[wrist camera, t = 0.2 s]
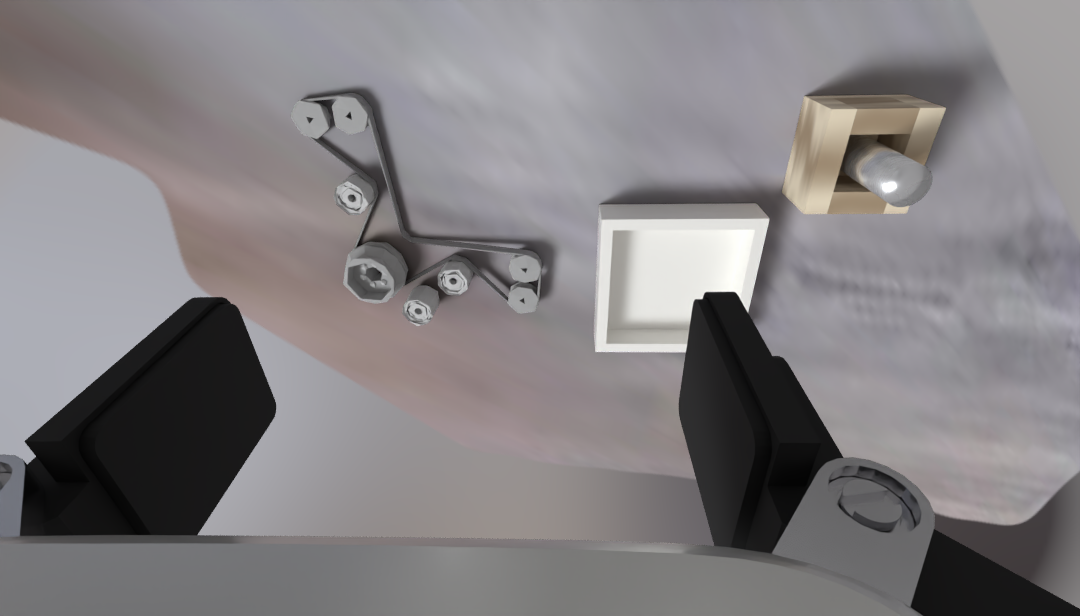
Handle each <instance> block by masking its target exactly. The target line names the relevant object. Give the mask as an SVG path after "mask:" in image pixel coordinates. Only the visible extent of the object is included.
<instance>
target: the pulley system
mask: <svg viewBox="0 0 1080 616" xmlns="http://www.w3.org/2000/svg"><path fill="white" fill-rule="evenodd" d="M328 99H337V100H336V101H335V103H334V104H333V105H332V110H333V116H334V121H335V125H336V128H338V129H340V130H342V131H343V132H345V133H347V134H349V135H351V134H355V133H359V132H363V131H365V129H366V127H367V126H370V130H371V133H372V137H373V140H374V143H375V147H376V150H377V153H378V157H379V160H380V163H381V167H382V170H383V173H384V177H385V180H386V183H387V187H388V190H389V194H390V197H391V200H392V204H393V207H394V210H395V214H396V217H397V220H398V224H399V227H400V230H401V234H402V237H403V238H405V239H406V240H408V241H410V242H412V243H420V244H428V245H437V246H445V247H453V248H461V249H470V250H478V251H486V252H495V253H503V254H511V255H512V257H511V261H510V265H509V271H510V273H511V275H512V277H513V279H514V280H517V281H519V282H518V283H516V284H514V285H513V286H511V288H510V292H509V298H508V297H507V296H506V295H505V294H504V293H503V292H502V291H501V290H500V289H498V288H497V287H496V286H495V285H494V284H493V283H492V282H491V281H490V280H489V279H488V278H487V277H486V276H485V275H484V274H483V273H482V272H480V271H479V270H478V269H477V268H476V267H475V266H474V265H473V264H472V263H471V262H470V261H469V260H468V259H467V258H465V257H461V256H458V255H452V256H450V257H449V258H447V259H445V260H443V261H441V262H439V263H438V264H436V265H434V266H432V267H430V268H428V269H427V270H425V271H423V272H421V273H420V274H418V275H416V276H415V277H413V278H411V279H409V280H408V281H406V275H407V272H408V267H407V265H406V263H405V261H404V259H403V256H402V254H401V253H400V252H398V251H397V250H396V249H395V248H393V247H392V246H391V245H390V244H389V243H387V242H370V241H369V242H367V243H365V244H363V245H361V246H359V247H357V246H358V243H359V241H360V238H361V236H362V233H363V231H364V229H365V226H366V224H367V221H368V219H369V217H370V214H371V212H372V209H373V207H374V205H375V202H376V200H377V197H378V195H379V192H378V188H377V184H376V181H375V180H373V179H372V178H371V177H369V176H368V175H367V174H365V173H364V172H363V171H361V170H360V169H359V168H357V167H356V166H355V165H353V164H352V163H351V162H349V161H348V160H347V159H345V158H344V157H343V156H341V155H340V154H339V153H337V152H336V151H335V150H333V149H332V148H331V147H329V146H328V145H327V144H325V143H324V142H323V141H321V140H320V139H319V137H320V136H322V135H323V134H324V133H326V132H327V130H328V129H329V128H330V120H331V115H330V113H329V111H328V109H327V108H326V106H324V105H323V104H321V103H319V102H317V101H316V100H328ZM291 118H292V119H293V121H294V123H295V125H296V126H297V128H298V129H299V131H300V132H301V134H302V135H305V136H307V137H309V138H310V139H311V140H313V141H314V142H315V143H317V144H318V145H319V146H321V147H322V148H323V149H325V150H326V151H327V152H329V153H330V154H331V155H333V156H334V157H335V158H337V159H338V160H340V161H341V162H342V163H344V164H345V165H346V166H348V167H349V168H350V169H352V170H353V171H354V172H356V173H357V174H355V175H351V176H349V177H348V178H347V179H346V180H345V181H343V182H342V183H341V184H340V185H339V186H338V187H337V188H336V190H335V194H334V200H335V202H336V205H337V206H339V207H340V208H341V209H342V210H344V211H345V212H346V213H347V214H349V215H360V214H361V213H362V212H364V211H365V210H366V208H367V207H368V206H369V205H370V204H371V203H372V205H371V207H370V210H369V212H368V215H367V217H366V220H365V222H364V225H363V227H362V230H361V232H360V235H359V237H358V240H357V242H356V245H355V247H354V249H353V250H352V252H350V253H349V254H348V259H347V263H346V266H345V273H344V281H343V284H344V285H345V286H346V287H347V288H348V289H349V290H350V291H351V292H352V293H353V294H354V295H355V296H356V297H357V298H358V299H359V300H361V301H366V302H370V303H375V304H376V303H382V302H388V300H389V299H390V298H391V297H394V296H395V295H396V294H397V292H398V291H399V290H400V289H401V288H402V286H404V285H406V284H408V283H410V282H411V281H413V280H415V279H417V278H419V277H420V276H422V275H424V274H426V273H428V272H430V271H431V270H433V269H435V268H437V267H439V266H440V265H442V264H444V263H445V265H444V266H443V268H442V269H441V271H440V273H439V274H438V286H439V287H440V288H441V289H442V290H443V291H444V292H445V293H446V294H447V295H458V296H459V295H461V294H462V293H464V292H465V291H466V290H467V289H468V286H469V284H470V281H471V279H472V276H473V272H474V273H475V274H476V275H477V276H478V277H480V278H481V279H482V280H483V281H484V282H485V283H486V284H487V285H488V286H489V287H491V288H492V289H493V290H494V291H495V292H496V293H497V294H498V295H499V296H501V297H502V298H503V299H504V300H505V301H506V302H507V303H508V305H509V306H510V307H512V308H513V309H514V310H515V311H516V312H517V313H519V314H521V313H528V312H535V310H536V308H537V306H538V303H539V298H540V286H541V272H542V262H541V259H540V258H539V256H538V254H537V253H535V252H532V251H529V250H522V249H514V248H505V247H496V246H487V245H479V244H470V243H461V242H452V241H444V240H435V239H426V238H417V237H411V236H410V235H409V234H408V233H407V232H406V231H405V230H404V226H403V223H402V219H401V215H400V211H399V208H398V204H397V200H396V197H395V193H394V189H393V186H392V182H391V178H390V175H389V171H388V167H387V164H386V160H385V156H384V153H383V149H382V145H381V142H380V138H379V134H378V131H377V127H376V123H375V120H374V116H373V110H372V108H371V107H370V105H369V104H368V103H367V101H366V100H365V99H364V98H363V97H362V96H361V95H359V94H357V93H345V94H338V95H330V96H323V97H315V98H308V99H303V100H300V101H298V102H297V103H296V104H295V106H294V108H293V111H292V113H291ZM312 118H314V119H312ZM377 269H378V270H379V271H380V272H381V273H379V272H378V271H377ZM538 277H539V280H538V288H537V287H535V286H533V285H532V284H529V283H526V282H531V281H535V280H537V279H538ZM405 281H406V282H405ZM438 306H439V296H438V291H436V290H435V289H433V288H431V287H429V286H417V287H416V288H414V289H413V290H412V292H411V293H410V295H409V297H408V299H407V301H406V302H405V304H404V306H403V313H402V314H403V315H404V316H405V317H406V318H407V319H408V321H410V322H411V323H413V324H415V325H416V326H420V325H424V324H427V323H429V322H430V321H431V319H432V317H433V315H434V313H435V311H436V310H437V308H438Z"/></svg>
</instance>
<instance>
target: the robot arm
mask: <svg viewBox="0 0 1080 616" xmlns="http://www.w3.org/2000/svg"><path fill="white" fill-rule="evenodd" d="M275 413H276V402H275V399H274V397H273V394H272V392H271V389H270V387H269V384H268V382H267V379H266V377H265V374H264V371H263V369H262V366H261V364H260V362H259V359H258V356H257V354H256V352H255V349H254V346H253V344H252V341H251V339H250V337H249V334H248V331H247V329H246V326H245V324H244V321H243V319H242V316H241V314H240V311H239V309H238V308H237V307H236V306H235V305H233V304H231V303H230V302H229V301H228V300H227V299H226V298H223V297H204V298H203V297H200V298H192V299H190V300H189V301H187V302H186V303H185V304H184V305H183V306H182V307H180V308H179V309H178V310H177V311H176V312H175V313H173V314H172V315H171V316H170V317H169V318H168V319H167V320H165V321H164V322H163V323H162V324H161V325H159V326H158V327H157V328H156V329H155V330H154V331H153V332H151V333H150V334H149V335H148V336H147V337H146V338H145V339H143V340H142V341H141V342H140V343H138V344H137V345H136V346H135V347H134V348H133V349H131V350H130V351H129V352H128V353H127V354H126V355H124V356H123V357H122V358H121V359H120V360H119V361H118V362H116V363H115V364H114V365H113V366H112V367H111V368H109V369H108V370H107V371H106V372H105V373H104V374H102V375H101V376H100V377H99V378H98V379H97V380H95V381H94V382H93V383H92V384H91V385H90V386H88V387H87V388H86V389H85V390H84V391H83V392H81V393H80V394H79V395H78V396H77V397H76V398H74V399H73V400H72V401H71V402H70V403H69V404H67V405H66V406H65V407H64V408H63V409H62V410H60V411H59V412H58V413H57V414H56V415H55V416H53V417H52V418H51V419H50V420H49V421H48V422H46V423H45V424H44V425H43V426H42V427H41V428H40V429H38V430H37V431H36V432H35V433H34V434H32V435H31V436H30V437H29V438H28V439H27V440H25V443H26V444H27V445H28V446H29V447H30V449H31V450H32V451H33V453H34V454H35V455H36V457H35V458H34V459H33V460H32V461H31V462H30V463H29V464H28V465H27V464H26V463H25V462H24V461H23V459H21V458H19V457H17V456H15V455H0V616H1080V609H1079V608H1077V607H1075V606H1073V605H1072V604H1070V603H1068V602H1066V601H1064V600H1063V599H1061V598H1059V597H1057V596H1055V595H1053V594H1051V593H1050V592H1048V591H1046V590H1044V589H1042V588H1041V587H1039V586H1037V585H1035V584H1033V583H1031V582H1030V581H1028V580H1026V579H1024V578H1022V577H1021V576H1019V575H1017V574H1015V573H1013V572H1011V571H1010V570H1008V569H1006V568H1004V567H1002V566H1000V565H999V564H997V563H995V562H993V561H991V560H989V559H988V558H985V557H984V556H982V555H980V554H979V553H976V552H975V551H973V550H971V549H969V548H968V547H966V546H964V545H962V544H960V543H959V542H957V541H955V540H953V539H951V538H949V537H947V536H946V535H944V534H942V533H940V532H938V531H936V530H935V529H934V523H935V522H934V521H935V514H934V512H933V509H932V507H931V505H930V502H929V500H928V499H927V498H926V497H925V495H924V494H923V493H922V492H921V491H920V489H919V488H918V487H917V486H916V485H914V484H913V483H912V482H911V481H909V480H908V479H907V478H906V477H905V476H903V475H901V474H900V473H898V472H896V471H894V470H892V469H891V468H889V467H887V466H884V465H882V464H879V463H876V462H873V461H870V460H866V459H859V458H853V457H851V458H843V456H842V454H841V453H840V451H839V449H838V448H837V446H836V444H835V443H834V441H833V439H832V437H831V436H830V434H829V432H828V431H827V429H826V427H825V426H824V424H823V422H822V421H821V419H820V417H819V416H818V414H817V412H816V410H815V409H814V407H813V405H812V404H811V402H810V400H809V399H808V397H807V395H806V394H805V392H804V390H803V389H802V387H801V385H800V383H799V382H798V380H797V378H796V377H795V375H794V373H793V372H792V370H791V368H790V367H789V365H788V363H787V362H786V361H785V360H784V358H782V357H780V356H772V355H771V353H770V351H769V349H768V348H767V346H766V344H765V342H764V340H763V339H762V337H761V335H760V333H759V332H758V330H757V328H756V326H755V325H754V323H753V321H752V319H751V317H750V316H749V314H748V312H747V310H746V309H745V307H744V305H743V303H742V301H741V300H740V298H739V296H738V294H737V293H736V292H705V293H704V296H703V299H695V300H694V302H693V307H692V314H691V321H690V327H689V334H688V341H687V348H686V355H685V362H684V369H683V376H682V383H681V390H680V397H679V416H680V421H681V424H682V428H683V432H684V435H685V439H686V443H687V446H688V450H689V454H690V457H691V461H692V465H693V468H694V472H695V476H696V479H697V483H698V487H699V490H700V494H701V498H702V501H703V505H704V509H705V512H706V516H707V520H708V524H709V527H710V530H711V535H712V538H713V542H714V546H707V545H706V546H705V545H694V544H680V543H654V542H623V541H592V540H544V539H542V540H541V539H539V540H538V539H482V538H477V539H476V538H415V537H327V536H324V537H323V536H319V537H318V536H200V535H198V533H199V531H200V530H201V529H202V527H203V525H204V524H205V522H206V521H207V519H208V518H209V516H210V515H211V513H212V512H213V510H214V509H215V507H216V506H217V504H218V503H219V501H220V499H221V498H222V496H223V495H224V493H225V492H226V490H227V489H228V487H229V486H230V484H231V483H232V481H233V480H234V478H235V477H236V475H237V474H238V472H239V471H240V469H241V468H242V466H243V465H244V463H245V461H246V460H247V458H248V457H249V455H250V454H251V452H252V451H253V449H254V448H255V446H256V445H257V443H258V442H259V440H260V439H261V437H262V436H263V434H264V433H265V431H266V430H267V428H268V426H269V425H270V423H271V422H272V420H273V418H274V417H275Z"/></svg>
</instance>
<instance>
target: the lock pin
mask: <svg viewBox="0 0 1080 616" xmlns="http://www.w3.org/2000/svg"><path fill="white" fill-rule="evenodd" d="M840 170H841V171H842V172H844V173H845V174H847V175H848V176H849V177H851V178H852V179H854V180H855V181H857V182H858V183H860V184H861V185H863V186H864V187H865V188H867V189H868V190H870V191H871V192H873V193H874V194H876V195H877V196H878V197H880V198H881V199H883V200H884V201H886V202H887V203H889V204H890V205H892V206H895V207H906V206H910V205H912V204H914V203H916V202H918V201H919V200H921V199H922V198H923V197H924V196H925V195H926V193H927V192H928V191H929V189H930V187H931V184H932V174H931V171H930V170H929V169H928V168H927V167H926V166H924V165H922V164H920V163H918V162H916V161H914V160H912V159H910V158H908V157H906V156H904V155H902V154H901V153H899V152H897V151H895V150H893V149H891V148H889V147H887V146H885V145H883V144H881V143H879V142H877V141H875V140H874V139H872V138H870V137H868V136H866V135H864V134H863V135H850V136H849V139H848V143H847V146H846V150H845V153H844V157H843V160H842V164H841V167H840Z"/></svg>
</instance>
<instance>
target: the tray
mask: <svg viewBox="0 0 1080 616" xmlns="http://www.w3.org/2000/svg"><path fill="white" fill-rule="evenodd" d="M769 219H770V218H769V217H768V216H767V215H766V214H765V213H764V212H763V210H762V209H761V208H760V207H759V206H758V205H757V203H734V204H599V219H598V243H597V267H596V291H595V315H594V339H595V350H596V352H686V348H687V341H688V334H689V327H690V321H691V314H692V307H693V302H694V300H695V299H703V296H704V293H705V292H736V293H737V294H738V296H739V298H740V300H741V301H742V303H743V305H744V307H745V309H746V310H747V312H748V311H749V307H750V302H751V298H752V294H753V289H754V285H755V280H756V276H757V272H758V267H759V263H760V259H761V254H762V250H763V245H764V241H765V237H766V232H767V228H768V224H769Z"/></svg>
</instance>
